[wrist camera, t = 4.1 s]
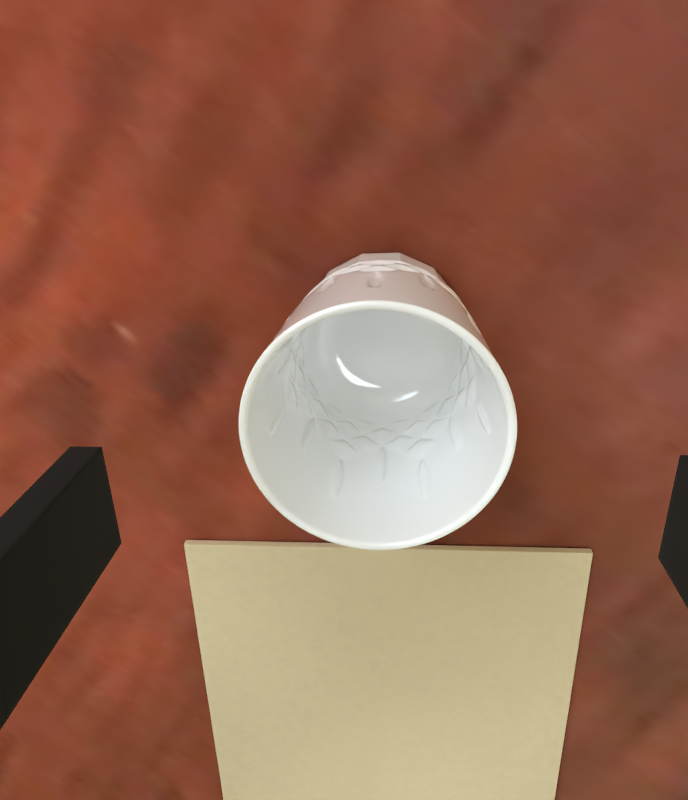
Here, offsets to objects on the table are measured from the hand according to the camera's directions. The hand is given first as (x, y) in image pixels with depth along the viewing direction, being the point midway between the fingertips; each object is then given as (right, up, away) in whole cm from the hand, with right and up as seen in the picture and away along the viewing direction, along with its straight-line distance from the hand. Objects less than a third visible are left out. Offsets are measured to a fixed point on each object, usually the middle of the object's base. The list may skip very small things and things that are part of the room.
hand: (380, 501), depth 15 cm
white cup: (+1, +5, +13) cm, 14 cm away
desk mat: (+1, -14, +21) cm, 25 cm away
